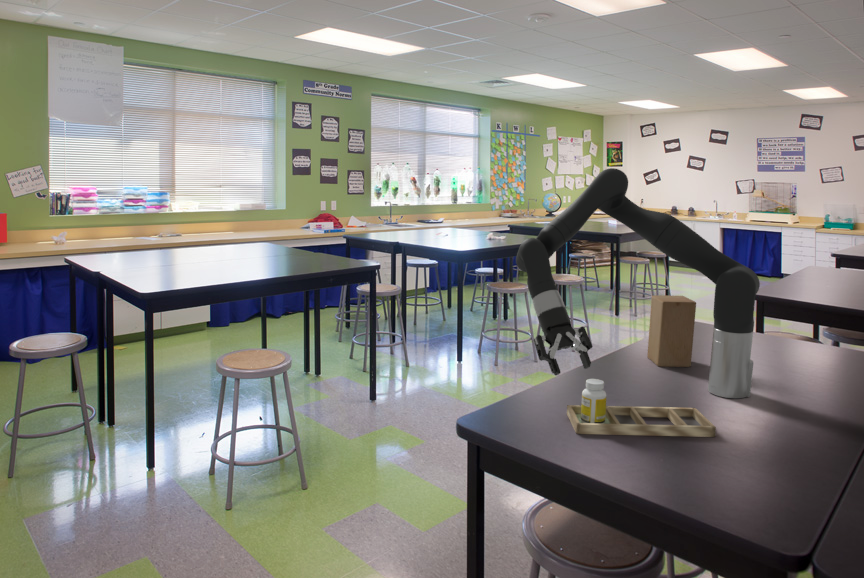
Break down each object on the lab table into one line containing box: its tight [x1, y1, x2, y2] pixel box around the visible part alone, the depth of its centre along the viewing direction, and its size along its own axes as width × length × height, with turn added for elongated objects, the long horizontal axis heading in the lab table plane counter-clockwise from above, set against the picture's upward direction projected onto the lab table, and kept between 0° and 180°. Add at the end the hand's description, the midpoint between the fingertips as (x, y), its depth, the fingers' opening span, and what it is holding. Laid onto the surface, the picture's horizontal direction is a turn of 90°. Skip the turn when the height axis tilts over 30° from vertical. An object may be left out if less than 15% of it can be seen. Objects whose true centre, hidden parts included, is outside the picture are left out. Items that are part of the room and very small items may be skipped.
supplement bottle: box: [581, 378, 607, 424], centre depth 140 cm, size 5×5×10 cm
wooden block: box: [646, 294, 697, 368], centre depth 187 cm, size 10×10×20 cm
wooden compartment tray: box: [566, 404, 717, 438], centre depth 140 cm, size 30×12×2 cm, turn 88°
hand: (572, 371), depth 152 cm, fingers open, 8 cm apart
